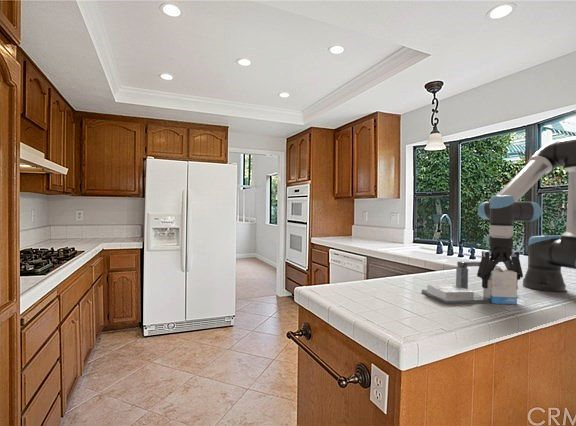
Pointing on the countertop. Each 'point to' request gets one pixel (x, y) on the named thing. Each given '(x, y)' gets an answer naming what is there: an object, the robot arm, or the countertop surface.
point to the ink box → (503, 286)
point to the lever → (467, 264)
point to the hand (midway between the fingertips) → (499, 296)
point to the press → (455, 291)
